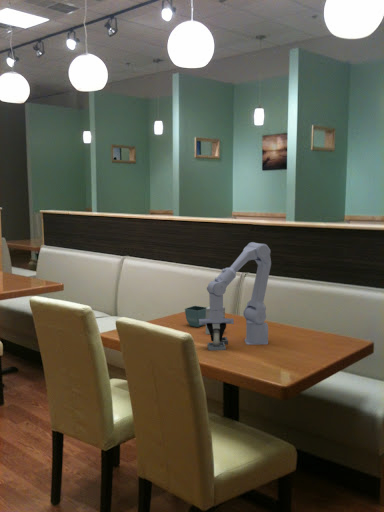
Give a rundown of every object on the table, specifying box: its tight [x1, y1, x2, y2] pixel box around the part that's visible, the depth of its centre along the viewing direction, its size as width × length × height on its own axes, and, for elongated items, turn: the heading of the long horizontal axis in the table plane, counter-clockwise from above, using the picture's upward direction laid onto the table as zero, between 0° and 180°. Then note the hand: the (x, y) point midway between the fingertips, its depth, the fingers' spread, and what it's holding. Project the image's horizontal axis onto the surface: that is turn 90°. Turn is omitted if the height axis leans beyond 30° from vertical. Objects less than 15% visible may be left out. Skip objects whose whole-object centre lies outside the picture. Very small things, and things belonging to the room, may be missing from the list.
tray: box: [206, 342, 227, 351], centre depth 227 cm, size 7×7×2 cm
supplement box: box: [205, 305, 226, 335], centre depth 250 cm, size 7×7×13 cm
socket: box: [220, 336, 229, 346], centre depth 234 cm, size 6×6×2 cm
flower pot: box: [184, 305, 208, 328], centre depth 264 cm, size 9×9×9 cm
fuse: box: [212, 328, 220, 346], centre depth 226 cm, size 3×3×7 cm
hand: (216, 340), depth 227 cm, fingers closed on fuse, 3 cm apart
